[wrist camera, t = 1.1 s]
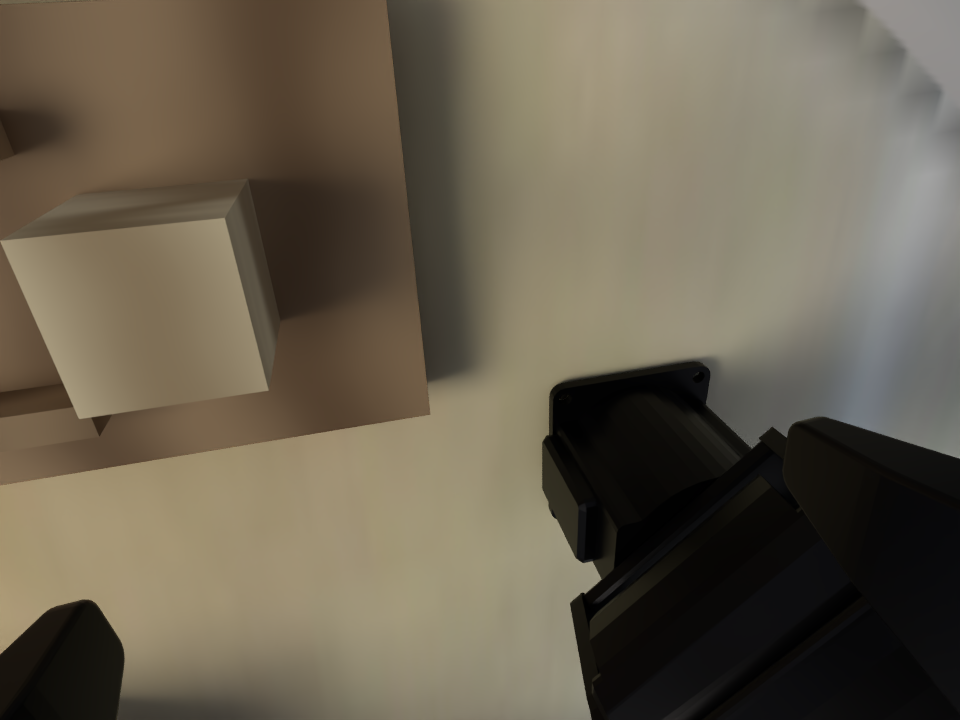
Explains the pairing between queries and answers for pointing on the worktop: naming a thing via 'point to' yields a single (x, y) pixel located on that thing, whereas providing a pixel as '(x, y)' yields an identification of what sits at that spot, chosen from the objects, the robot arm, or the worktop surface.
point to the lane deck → (212, 158)
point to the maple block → (151, 295)
